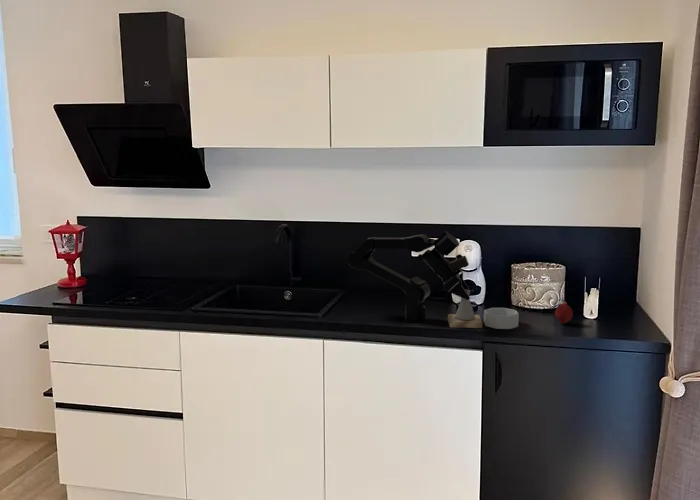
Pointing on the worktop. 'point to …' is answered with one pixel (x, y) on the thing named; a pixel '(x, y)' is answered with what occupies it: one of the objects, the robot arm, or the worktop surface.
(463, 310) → the flask
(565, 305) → the onion
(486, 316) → the collar
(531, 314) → the worktop surface
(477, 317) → the oak board
